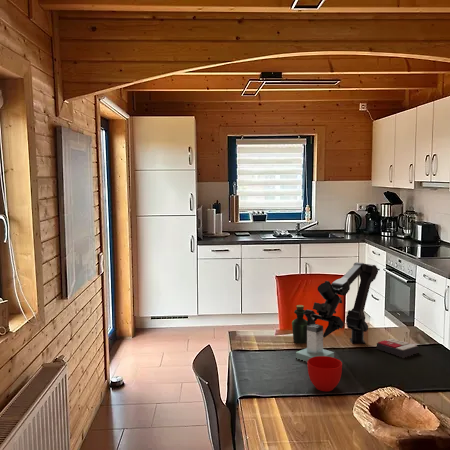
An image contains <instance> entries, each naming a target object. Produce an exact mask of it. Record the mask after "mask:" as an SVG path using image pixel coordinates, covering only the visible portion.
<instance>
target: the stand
mask: <svg viewBox="0 0 450 450" xmlns="http://www.w3.org/2000/svg"><path fill="white" fill-rule="evenodd" d="M317 356H327V357H333V358H335V351H331V350H327V349H324V348H323V352H322V353H320V354H318V355H314V354H311V353H308V352H307V347H306V348H303V349H301V350H299V351H296V352H295V359H296V358H297V359H296V360H298V359H300V360H299V361H301V360H303V361H302V362H304V361H306V362H305V363H307V362H308V360H309V359H310V358H312V357H317Z"/></svg>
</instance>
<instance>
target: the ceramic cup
mask: <svg viewBox="0 0 450 450" xmlns="http://www.w3.org/2000/svg"><path fill="white" fill-rule="evenodd" d="M306 363H307V364H306V365H307V373H308V377H309V380H310V382H311V384H312V385H313V386H314V387H315V389H316V390H318V391H320V392H331V391H333V390H334V389H335V388H336V387H337V386H338V385H339V383H340V381H341V377H342V372H343V362H342V361H341V360H340V359H337V358H336V357H334V358H333V357H327V356H317V357H312V358H310V359H309V360H308V362H306Z"/></svg>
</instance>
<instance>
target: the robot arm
mask: <svg viewBox="0 0 450 450" xmlns="http://www.w3.org/2000/svg"><path fill="white" fill-rule="evenodd" d="M378 273H379V268H378V267H377V265H375V264H369V263H364V262H359V261H357V262H354V263H353V266H351V268H350V269H348V271H347V272H346V273H345V274H344V275H343V276H342V277H341V278H338V279H335V280H334V281H333V282H330V281H328V280H325V281H324V282H322V283H321V284H319V285H318V287H317V292H318V293H319V294H320V296H321V297H322V299H323V300H325V301H324V302H322V303H320V302H313V306H312V309H304V310H305V312H304V317H305V319H306V320H307V326H308V325H311V324H317V322H316V321H317V320H319V321H325V322H328V324H327V327H326V329H325V330H324V331H323V339H324V338H326V337H328V336H329V335H330V334H332V333H334V332H335V331H337V330H340V329H343V328H344V324H345V323H344V321H343V319H341V317H340V316H337V315H335V314H337V311H336V310H337V308H338V306H339V304H343V299H342V297H341V296H346V295H347V294H348V292H349V291H350V289H351V287H350V286H351V285H352V283H354V281H355V280H357V278H358V277H359V279H360V282H359V285H358V290H357V294H356V297H355V301H354V306H353V308H352V309H349V310H348V311H347V315H346V317H345V318H346V319H345V321H346V327H347V329H349V330H351V337H350V338H349V341H350V343H351V344H356V345H357V344H358V345H359V344H361V345H362V344H366V341H365V340H364V339H365V338H364V334H365V333H364V332H367V331H368V330H369V324H368V323H367V322H366V314H365V311H364V310H365V307H366V303H367V299H368V296H369V292H370V291H369V290H370V288H371V284H372V283H373V282H374V280H376V278H377V276H378ZM339 295H340V296H339ZM315 311H316V312H315ZM306 332H307V329H306Z"/></svg>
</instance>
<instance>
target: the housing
mask: <svg viewBox="0 0 450 450" xmlns="http://www.w3.org/2000/svg"><path fill="white" fill-rule="evenodd" d="M323 335H324V325H322V324H318V323H315V324H311V325H308V326H307V342H306V348H307V352H308V353H311V354H314V355H318V354H320V353H322V352H323V349H324V337H323Z"/></svg>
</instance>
